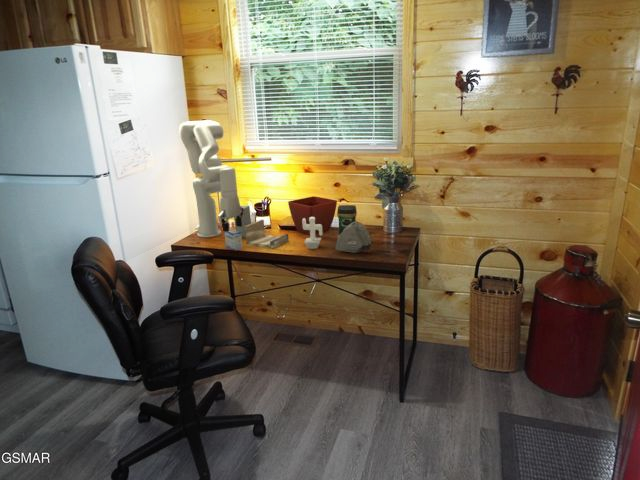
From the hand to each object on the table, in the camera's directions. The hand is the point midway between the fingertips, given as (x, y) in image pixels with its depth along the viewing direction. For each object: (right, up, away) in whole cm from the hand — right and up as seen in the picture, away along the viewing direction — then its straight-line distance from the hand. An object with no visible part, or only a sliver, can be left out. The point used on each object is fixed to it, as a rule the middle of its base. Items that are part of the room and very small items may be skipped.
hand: (232, 228), depth 225 cm
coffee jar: (+56, -6, +8) cm, 57 cm away
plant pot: (+39, -1, +27) cm, 47 cm away
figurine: (+39, -9, 0) cm, 40 cm away
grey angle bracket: (+16, -7, +10) cm, 20 cm away
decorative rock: (+58, -11, -9) cm, 59 cm away
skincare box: (+2, -3, +23) cm, 24 cm away
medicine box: (0, -10, +3) cm, 10 cm away
